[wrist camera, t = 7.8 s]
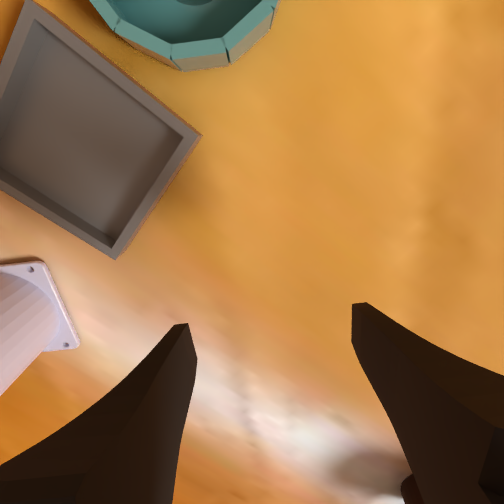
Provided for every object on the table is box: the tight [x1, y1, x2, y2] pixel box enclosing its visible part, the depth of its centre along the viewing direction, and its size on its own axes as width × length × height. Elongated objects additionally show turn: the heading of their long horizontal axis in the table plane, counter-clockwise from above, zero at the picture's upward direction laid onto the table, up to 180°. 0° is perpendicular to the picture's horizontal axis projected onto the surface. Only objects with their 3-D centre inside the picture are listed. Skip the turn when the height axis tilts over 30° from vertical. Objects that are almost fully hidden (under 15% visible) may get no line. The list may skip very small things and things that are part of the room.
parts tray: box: [0, 0, 203, 260], centre depth 17 cm, size 10×10×2 cm
